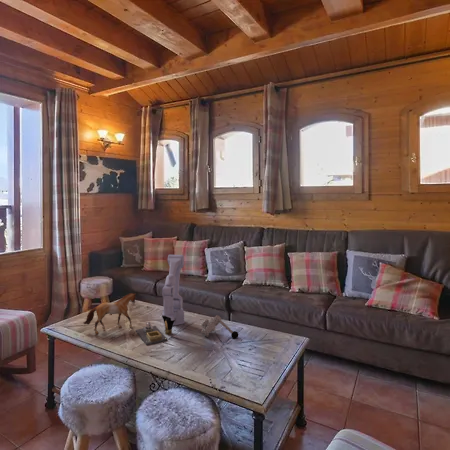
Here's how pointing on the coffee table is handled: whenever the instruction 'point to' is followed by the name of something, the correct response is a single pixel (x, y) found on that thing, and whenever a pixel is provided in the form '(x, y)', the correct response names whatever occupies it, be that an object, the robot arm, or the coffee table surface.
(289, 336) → the coffee table surface
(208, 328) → the valve
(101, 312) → the horse figurine
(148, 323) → the plate
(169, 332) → the brass fitting
